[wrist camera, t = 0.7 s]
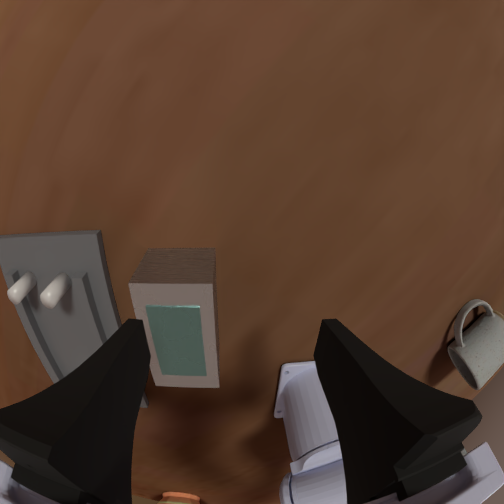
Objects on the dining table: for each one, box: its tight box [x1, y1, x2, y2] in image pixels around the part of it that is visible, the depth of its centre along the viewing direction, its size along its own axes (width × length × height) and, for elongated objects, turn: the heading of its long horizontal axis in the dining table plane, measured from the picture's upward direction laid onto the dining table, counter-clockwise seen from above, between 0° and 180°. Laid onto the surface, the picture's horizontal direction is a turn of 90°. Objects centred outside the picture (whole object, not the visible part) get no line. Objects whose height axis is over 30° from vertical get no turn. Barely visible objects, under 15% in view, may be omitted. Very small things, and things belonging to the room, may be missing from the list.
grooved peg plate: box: [0, 230, 149, 408], centre depth 20 cm, size 20×12×4 cm, turn 178°
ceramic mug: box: [447, 299, 504, 390], centre depth 23 cm, size 11×8×8 cm
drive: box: [129, 248, 219, 388], centre depth 19 cm, size 9×5×5 cm, turn 178°
